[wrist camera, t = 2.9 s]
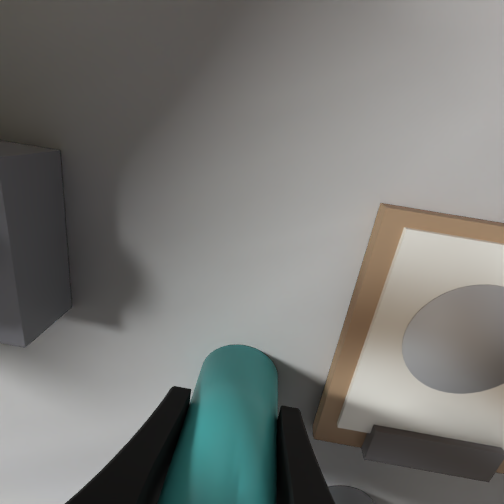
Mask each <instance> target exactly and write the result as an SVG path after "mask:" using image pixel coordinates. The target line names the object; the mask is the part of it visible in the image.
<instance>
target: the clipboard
mask: <svg viewBox="0 0 504 504" xmlns="http://www.w3.org/2000/svg"><path fill="white" fill-rule="evenodd" d="M312 427H313V437H314V439H316V440H322V441H327V442H333V443H338V444H344V445H349V446H354V447H360V448H361V449H362V453H363V457H364V459H365V460H371V461H376V462H381V463H387V464H392V465H398V466H403V467H409V468H414V469H420V470H425V471H431V472H436V473H441V474H447V475H452V476H458V477H463V478H469V479H474V480H480V481H485V482H489V481H490V480H491V478H492V477H493V475H494V474H495V472H497V473H502V474H504V223H499V222H493V221H487V220H481V219H475V218H469V217H462V216H456V215H450V214H444V213H438V212H432V211H426V210H420V209H414V208H408V207H402V206H396V205H390V204H383V203H380V207H379V210H378V213H377V217H376V220H375V223H374V226H373V230H372V233H371V236H370V239H369V243H368V246H367V249H366V253H365V256H364V259H363V262H362V266H361V269H360V272H359V276H358V279H357V282H356V285H355V289H354V292H353V295H352V298H351V302H350V305H349V308H348V312H347V315H346V318H345V321H344V325H343V328H342V331H341V335H340V338H339V341H338V344H337V348H336V351H335V354H334V358H333V361H332V364H331V367H330V371H329V374H328V377H327V380H326V384H325V387H324V390H323V394H322V397H321V400H320V403H319V407H318V410H317V413H316V417H315V420H314V423H313V426H312Z"/></svg>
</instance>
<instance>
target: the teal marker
mask: <svg viewBox="0 0 504 504" xmlns="http://www.w3.org/2000/svg"><path fill="white" fill-rule="evenodd" d="M277 419H278V373H277V370H276V367H275V365H274V363H273V362H272V361H271V359H270V358H269V357H268V356H266V355H265V354H264V353H262V352H261V351H259V350H257V349H255V348H252V347H249V346H245V345H228V346H224V347H221V348H218V349H216V350H215V351H213V352H212V353H211V354H209V355H208V356H207V358H206V359H205V361H204V363H203V365H202V368H201V371H200V374H199V377H198V380H197V383H196V386H195V390H194V393H193V396H192V399H191V402H190V405H189V408H188V411H187V414H186V417H185V420H184V423H183V426H182V429H181V432H180V435H179V438H178V441H177V444H176V447H175V451H174V454H173V457H172V460H171V463H170V466H169V469H168V472H167V475H166V478H165V481H164V484H163V487H162V490H161V493H160V496H159V499H158V502H157V504H276V500H277Z"/></svg>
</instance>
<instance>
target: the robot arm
mask: <svg viewBox="0 0 504 504" xmlns="http://www.w3.org/2000/svg"><path fill="white" fill-rule="evenodd" d="M190 394H191V389H187V388H181V387H176V386H174V387H172V388H171V389H170V390H169V392H168V393H167V395H166V396H165V398H164V399H163V400H162V402H161V403H160V404H159V406H158V407H157V408H156V410H155V411H154V412H153V414H152V415H151V416H150V417H149V419H148V420H147V421H146V422H145V423H144V424H143V426H142V427H141V428H140V429H139V430H138V432H137V433H136V434H135V435H134V436H133V437H132V438H131V440H130V441H129V442H128V443H127V444H126V445H125V446H124V447H123V448H122V449H121V450H120V451H119V452H118V454H117V455H116V456H115V457H114V458H113V459H112V460H111V461H110V462H109V463H108V464H107V465H106V466H105V467H104V468H103V469H102V470H101V471H100V472H99V473H98V474H97V475H96V476H95V477H94V478H93V479H92V480H91V481H90V482H89V483H87V484H86V485H85V486H84V487H83V488H82V489H81V490H80V491H79V492H78V493H77V494H75V495H74V496H73V497H72V498H71V499H70V500H69V501H67V502H66V503H65V504H157V502H158V499H159V496H160V493H161V490H162V487H163V484H164V481H165V478H166V475H167V472H168V469H169V466H170V463H171V460H172V457H173V454H174V451H175V447H176V444H177V441H178V438H179V435H180V432H181V429H182V426H183V423H184V420H185V417H186V414H187V411H188V408H189V404H190ZM276 504H335V502H334V499H333V497H332V495H331V493H330V491H329V488H328V486H327V484H326V482H325V479H324V477H323V474H322V472H321V469H320V467H319V464H318V462H317V460H316V457H315V454H314V452H313V449H312V446H311V443H310V441H309V438H308V435H307V432H306V429H305V426H304V422H303V419H302V415H301V412H300V410H299V409H298V408H292V407H287V406H281V408H280V412H279V416H278V420H277V500H276Z"/></svg>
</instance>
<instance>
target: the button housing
mask: <svg viewBox="0 0 504 504" xmlns="http://www.w3.org/2000/svg"><path fill="white" fill-rule="evenodd" d="M71 307H72V302H71V288H70V275H69V262H68V248H67V235H66V222H65V208H64V195H63V182H62V168H61V155H60V150H55V149H49V148H43V147H37V146H31V145H25V144H19V143H13V142H7V141H0V343H3V344H9V345H14V346H20V347H26V346H28V345H29V344H30V343H31V342H32V341H33V340H34V339H36V338H37V337H38V336H39V335H40V334H41V333H43V332H44V331H45V330H46V329H47V328H48V327H49V326H51V325H52V324H53V323H54V322H55V321H56V320H58V319H59V318H60V317H61V316H62V315H63V314H64V313H66V312H67V311H68V310H69V309H70V308H71Z"/></svg>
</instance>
